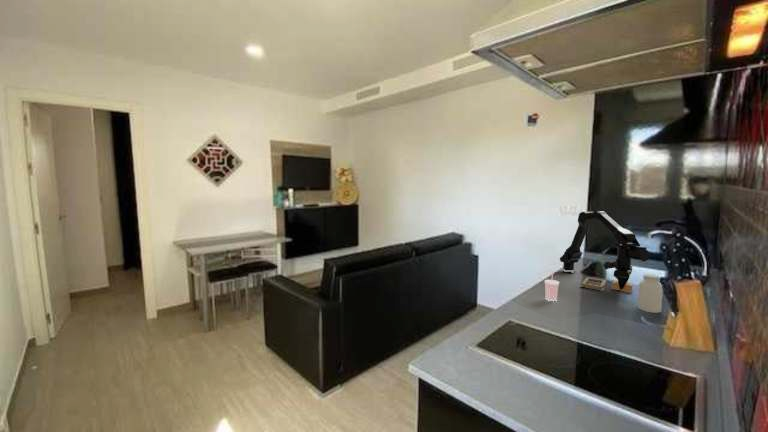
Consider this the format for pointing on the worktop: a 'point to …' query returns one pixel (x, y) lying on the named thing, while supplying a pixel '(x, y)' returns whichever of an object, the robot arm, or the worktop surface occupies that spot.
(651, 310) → the pill bottle
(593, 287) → the board
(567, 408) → the worktop surface
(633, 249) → the robot arm
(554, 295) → the beverage cup
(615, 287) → the ochre bar
